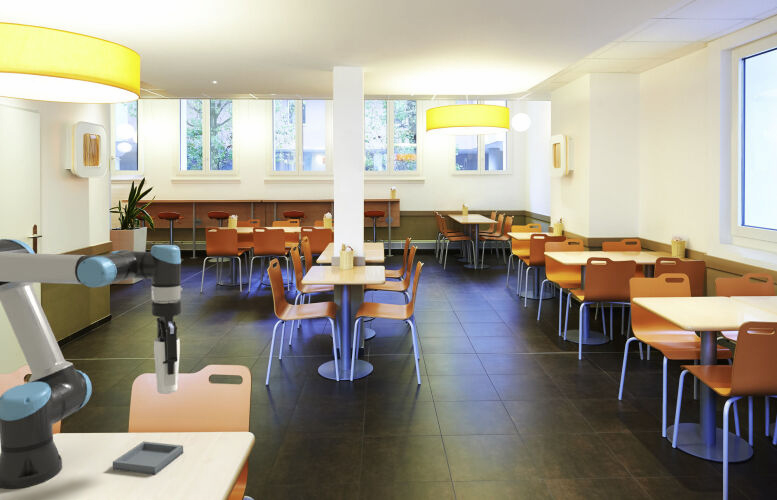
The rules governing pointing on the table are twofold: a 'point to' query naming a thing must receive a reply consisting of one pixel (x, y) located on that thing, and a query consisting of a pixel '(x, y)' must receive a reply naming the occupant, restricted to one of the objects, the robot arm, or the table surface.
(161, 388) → the white cup
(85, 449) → the table surface
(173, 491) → the table surface
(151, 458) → the grey tray
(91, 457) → the table surface
